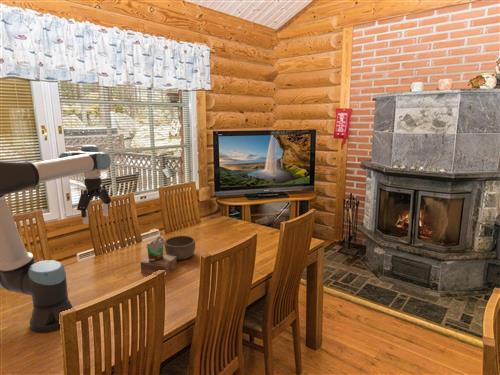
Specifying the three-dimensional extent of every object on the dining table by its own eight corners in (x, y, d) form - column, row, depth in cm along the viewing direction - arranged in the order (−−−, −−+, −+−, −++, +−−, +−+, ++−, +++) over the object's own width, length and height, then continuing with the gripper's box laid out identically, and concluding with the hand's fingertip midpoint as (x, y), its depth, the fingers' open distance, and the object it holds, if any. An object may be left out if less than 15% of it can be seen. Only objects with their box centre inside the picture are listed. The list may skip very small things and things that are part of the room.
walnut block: (165, 276, 169) (164, 265, 167) (141, 272, 173) (140, 261, 172) (176, 266, 180) (176, 256, 179) (154, 263, 184) (153, 253, 183)
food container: (158, 264, 169) (157, 245, 167) (147, 263, 170) (146, 244, 168) (169, 254, 181) (168, 237, 179) (158, 253, 182) (158, 236, 180)
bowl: (174, 265, 181) (173, 248, 179) (159, 255, 195) (159, 239, 193) (201, 257, 192) (201, 241, 190) (186, 248, 206) (185, 233, 204)
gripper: (78, 182, 149) (83, 227, 153) (116, 174, 173) (119, 213, 177) (65, 181, 151) (70, 226, 155) (104, 173, 175) (107, 212, 179)
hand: (96, 219), depth 166 cm, fingers open, 13 cm apart
